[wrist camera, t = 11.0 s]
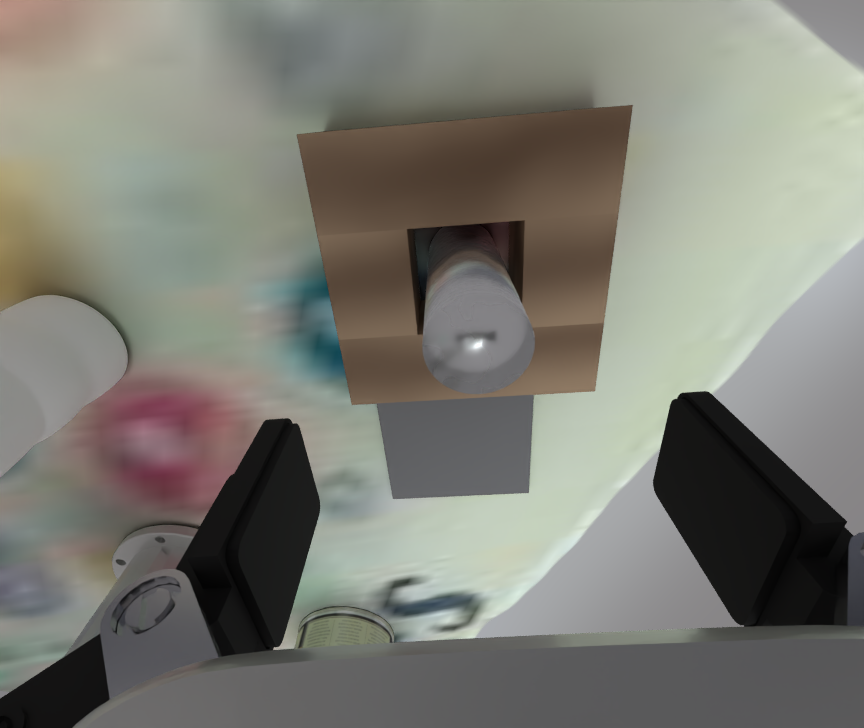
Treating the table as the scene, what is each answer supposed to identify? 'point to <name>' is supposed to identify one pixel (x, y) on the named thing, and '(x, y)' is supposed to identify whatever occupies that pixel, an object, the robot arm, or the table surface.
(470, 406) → the rubber mat
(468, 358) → the steel peg
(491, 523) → the table surface
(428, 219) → the brown peg hole board
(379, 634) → the coffee can
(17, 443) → the water bottle
